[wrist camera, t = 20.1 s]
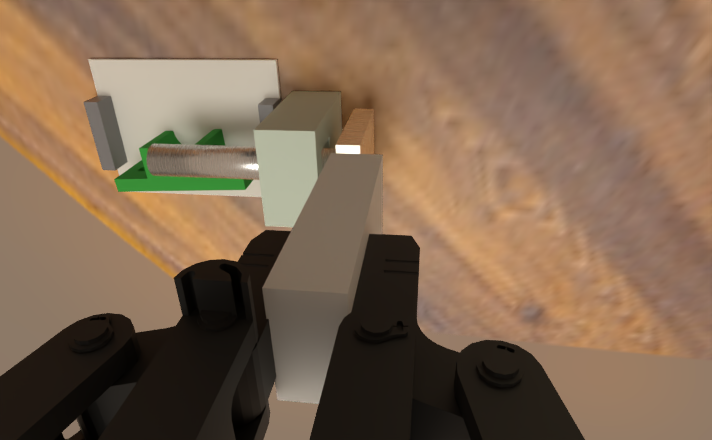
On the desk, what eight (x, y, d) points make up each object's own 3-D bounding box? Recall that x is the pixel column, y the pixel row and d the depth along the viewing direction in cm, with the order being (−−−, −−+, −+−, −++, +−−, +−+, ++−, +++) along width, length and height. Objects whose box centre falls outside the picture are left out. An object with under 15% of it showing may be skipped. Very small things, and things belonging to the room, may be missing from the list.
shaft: (171, 105, 39) (115, 139, 32) (373, 108, 37) (359, 145, 30) (185, 175, 42) (136, 220, 35) (374, 182, 40) (361, 231, 33)
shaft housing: (292, 91, 41) (253, 129, 32) (340, 91, 40) (314, 131, 31) (298, 171, 44) (265, 225, 35) (343, 172, 43) (321, 228, 35)
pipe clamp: (255, 126, 42) (237, 145, 38) (262, 168, 44) (246, 190, 40) (133, 131, 44) (103, 149, 40) (144, 171, 46) (117, 192, 42)
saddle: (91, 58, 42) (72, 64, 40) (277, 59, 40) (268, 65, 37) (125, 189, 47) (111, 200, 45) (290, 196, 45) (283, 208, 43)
